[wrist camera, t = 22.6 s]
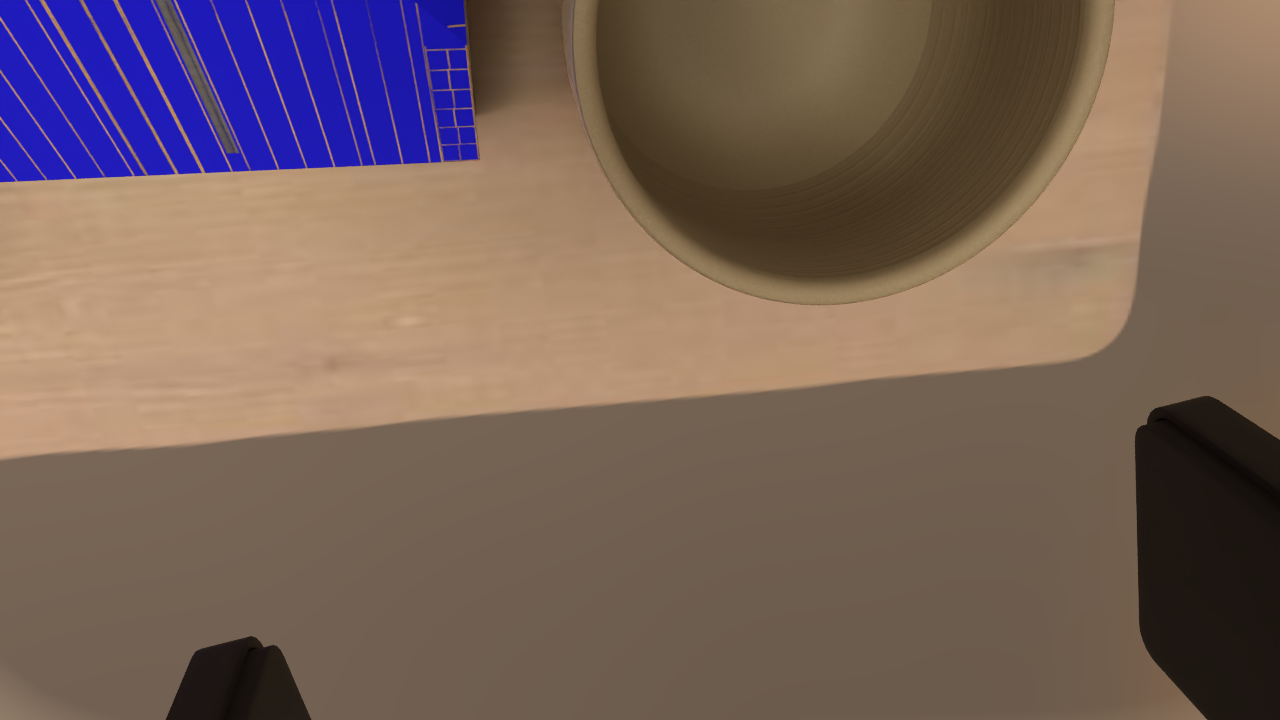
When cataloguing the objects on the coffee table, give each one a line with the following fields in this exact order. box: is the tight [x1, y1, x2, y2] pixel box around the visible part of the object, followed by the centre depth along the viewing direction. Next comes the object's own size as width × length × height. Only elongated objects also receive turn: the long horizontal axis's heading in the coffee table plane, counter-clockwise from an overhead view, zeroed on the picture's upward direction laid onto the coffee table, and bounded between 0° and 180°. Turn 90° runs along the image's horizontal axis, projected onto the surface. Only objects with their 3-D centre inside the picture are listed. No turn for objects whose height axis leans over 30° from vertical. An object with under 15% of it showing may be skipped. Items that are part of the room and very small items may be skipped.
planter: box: [562, 0, 1115, 305], centre depth 39 cm, size 17×17×15 cm
